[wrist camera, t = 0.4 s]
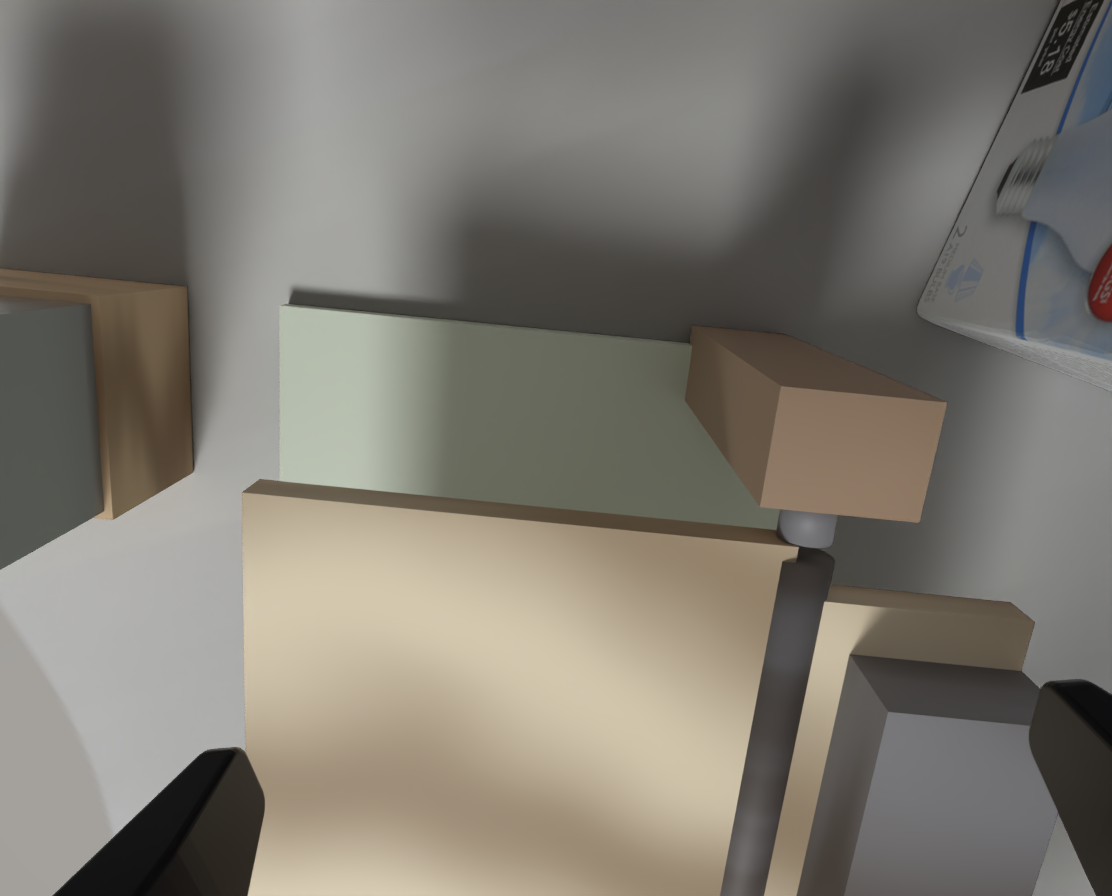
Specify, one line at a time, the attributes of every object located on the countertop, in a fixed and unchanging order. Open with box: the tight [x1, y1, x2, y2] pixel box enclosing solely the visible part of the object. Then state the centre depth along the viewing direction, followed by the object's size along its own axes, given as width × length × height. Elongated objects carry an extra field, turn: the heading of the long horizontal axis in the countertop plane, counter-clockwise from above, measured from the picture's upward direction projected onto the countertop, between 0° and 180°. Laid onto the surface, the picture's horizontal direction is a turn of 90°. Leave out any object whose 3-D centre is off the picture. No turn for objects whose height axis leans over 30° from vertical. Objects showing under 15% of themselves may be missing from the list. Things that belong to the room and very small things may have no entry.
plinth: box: [0, 268, 193, 520], centre depth 20 cm, size 5×5×4 cm
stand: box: [280, 304, 947, 548], centre depth 19 cm, size 20×15×9 cm
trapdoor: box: [242, 479, 1058, 896], centre depth 15 cm, size 14×14×3 cm
